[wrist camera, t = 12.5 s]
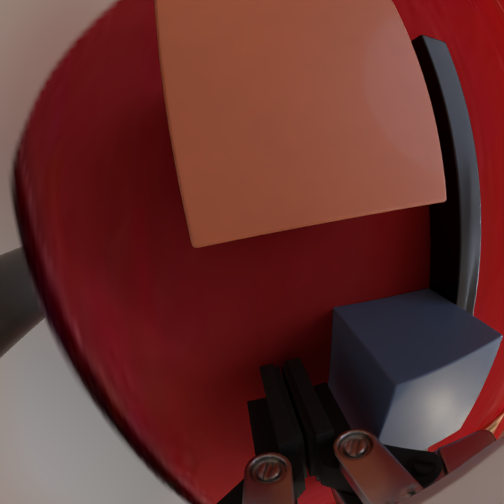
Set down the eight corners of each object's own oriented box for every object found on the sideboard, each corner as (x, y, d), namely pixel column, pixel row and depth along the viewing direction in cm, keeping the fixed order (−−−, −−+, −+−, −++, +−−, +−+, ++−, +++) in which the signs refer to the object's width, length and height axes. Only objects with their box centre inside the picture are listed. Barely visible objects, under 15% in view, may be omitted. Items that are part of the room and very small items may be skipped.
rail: (391, 459, 14) (401, 476, 12) (396, 50, 8) (421, 33, 6) (407, 452, 14) (417, 468, 12) (420, 55, 8) (445, 41, 6)
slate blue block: (326, 396, 12) (361, 475, 7) (332, 307, 10) (395, 386, 5) (410, 371, 12) (460, 429, 7) (428, 287, 11) (503, 335, 6)
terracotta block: (212, 216, 9) (192, 250, 4) (187, 79, 8) (153, -5, 3) (351, 191, 9) (447, 202, 4) (324, 63, 8) (389, -7, 3)
